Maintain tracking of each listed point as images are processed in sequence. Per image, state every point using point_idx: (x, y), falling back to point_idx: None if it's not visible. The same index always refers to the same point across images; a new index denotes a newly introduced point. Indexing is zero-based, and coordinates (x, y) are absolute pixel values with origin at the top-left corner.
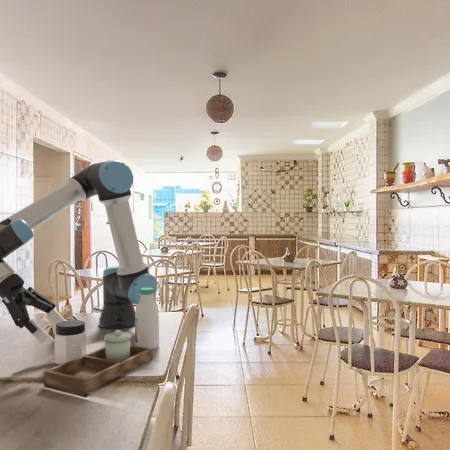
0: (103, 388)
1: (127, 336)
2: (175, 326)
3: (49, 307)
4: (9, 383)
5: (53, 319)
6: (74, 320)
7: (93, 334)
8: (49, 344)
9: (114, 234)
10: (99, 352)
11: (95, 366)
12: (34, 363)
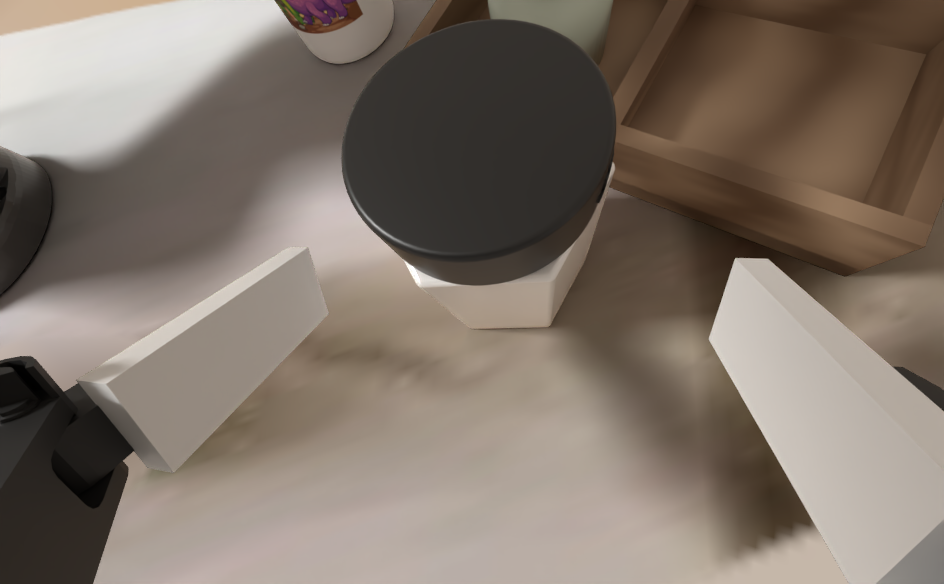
0: None
1: None
2: (103, 17)
3: (48, 450)
4: None
5: (244, 380)
6: (360, 135)
7: (96, 299)
8: (190, 483)
9: None
10: None
11: (642, 95)
12: (495, 459)
